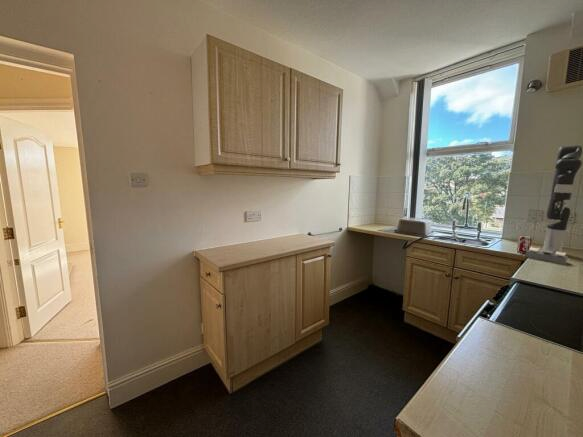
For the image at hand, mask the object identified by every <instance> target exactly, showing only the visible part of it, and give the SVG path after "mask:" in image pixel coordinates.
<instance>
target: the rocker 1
mask: <svg viewBox="0 0 583 437" xmlns="http://www.w3.org/2000/svg"><path fill="white" fill-rule="evenodd" d="M539 250H540V247H538V246H532V245H531V247H530V249H529V251H533V252H538V251H539Z"/></svg>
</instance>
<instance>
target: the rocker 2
mask: <svg viewBox="0 0 583 437" xmlns="http://www.w3.org/2000/svg"><path fill="white" fill-rule="evenodd" d="M566 254H567V252H565V251H561V252H560V251H557V252H556V253H555V255H558V256H567V255H566Z"/></svg>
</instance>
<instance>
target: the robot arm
mask: <svg viewBox="0 0 583 437" xmlns="http://www.w3.org/2000/svg"><path fill="white" fill-rule="evenodd" d="M582 154H583V147H582V146H581V145H568V146H566V145H565V146H560V147H559V148H558V151H557V156H556V163H555V173H554V177H553V180H552V181H553V182H552V185H551V186H552V187H551V188H552V189H551V194H550V199H549V203H548V207H547V211H546V219H548V220H554V221H555V220H556V221H557V220H558V222H554V223H549V224H547V225H546V231H545V236H544V240H543V241H544V242H543V246H542V247H543V248H542V250H547V251H552V254H555V253H556V252H557V251H560V252H563V246H564V239H565V236H566V230H567V226H568V223H569V222H568V221H569V219H570V216H571V208H570V207H568V206H567V207H566V204H567V203H566V202H565V201H570V200H571V198H572V195H573V194H572V193H573V189H574V186H573V185H574V180H575V177H576V175H577V173H578V171H579V170H580V168H581V167H582V164H583V162H582V160H581V159H580V158H581V156H582Z"/></svg>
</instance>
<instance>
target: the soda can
mask: <svg viewBox="0 0 583 437" xmlns="http://www.w3.org/2000/svg"><path fill="white" fill-rule="evenodd" d="M532 241H533V238H532V237H531V236H529V235H520V236H519V237H518V241H517V247H516V252H517V253H519V252H520V254H524V253H526V251H527V250H529V249H530V247H531V246H532V243H533V242H532Z"/></svg>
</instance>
